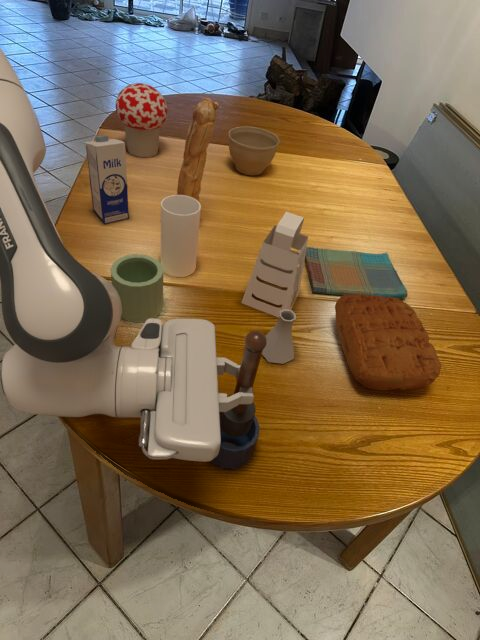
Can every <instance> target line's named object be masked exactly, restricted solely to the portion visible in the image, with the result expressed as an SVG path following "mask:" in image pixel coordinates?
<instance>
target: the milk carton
mask: <svg viewBox="0 0 480 640" xmlns="http://www.w3.org/2000/svg"><path fill="white" fill-rule="evenodd" d="M94 138H95V140H91V141H84V144H85V151H86V160H87V169H88V176H89V186H90V194H91V203H92V210H93V213H94V214H95V215H96V217H98V219H99V221H101V222H102V224H103V225H107V224H111V223H116V222H120V221H121V222H122V221H124V220H129V219H130V213H129V211H130V210H129V194H128V176H127V175H128V173H127V156H126V141H125V142H124V141H123V140H120V139H117V138H109V136H108V135H106V134H105V135H104V134H102V135H95V136H94Z"/></svg>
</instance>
